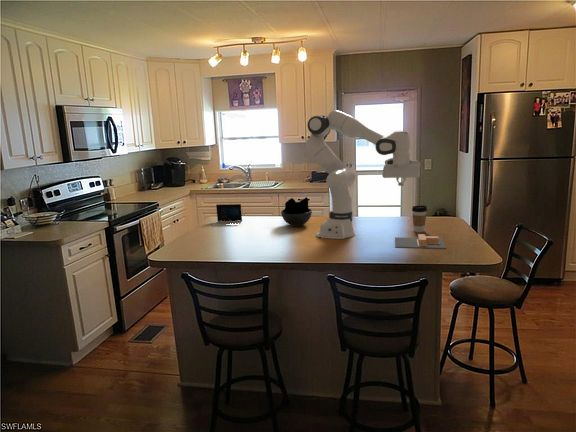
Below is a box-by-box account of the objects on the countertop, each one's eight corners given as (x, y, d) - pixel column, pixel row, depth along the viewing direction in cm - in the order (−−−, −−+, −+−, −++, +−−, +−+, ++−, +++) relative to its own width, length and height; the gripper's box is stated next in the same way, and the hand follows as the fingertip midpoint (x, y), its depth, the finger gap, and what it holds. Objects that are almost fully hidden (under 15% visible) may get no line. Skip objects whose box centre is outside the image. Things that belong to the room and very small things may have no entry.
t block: (419, 245, 221) (419, 239, 220) (417, 239, 231) (418, 234, 231) (439, 245, 218) (439, 240, 218) (437, 239, 229) (437, 234, 228)
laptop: (211, 226, 287) (210, 208, 284) (217, 222, 299) (216, 204, 296) (237, 226, 284) (235, 207, 281) (242, 222, 296) (241, 204, 293)
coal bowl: (276, 228, 272) (275, 200, 267) (288, 221, 289) (287, 194, 285) (306, 230, 264) (305, 200, 260) (316, 223, 282) (315, 195, 278)
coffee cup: (427, 232, 245) (427, 207, 242) (412, 232, 247) (412, 207, 244) (425, 229, 253) (426, 204, 250) (411, 229, 255) (411, 204, 252)
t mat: (395, 247, 220) (395, 246, 220) (394, 238, 237) (394, 237, 237) (446, 248, 215) (446, 247, 214) (441, 239, 232) (441, 238, 232)
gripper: (420, 159, 233) (420, 184, 236) (382, 160, 238) (382, 185, 241) (421, 160, 227) (420, 186, 230) (382, 161, 232) (382, 186, 235)
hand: (400, 185), depth 235 cm, fingers closed
